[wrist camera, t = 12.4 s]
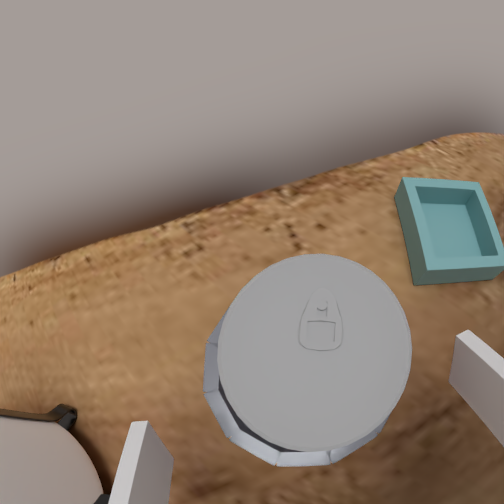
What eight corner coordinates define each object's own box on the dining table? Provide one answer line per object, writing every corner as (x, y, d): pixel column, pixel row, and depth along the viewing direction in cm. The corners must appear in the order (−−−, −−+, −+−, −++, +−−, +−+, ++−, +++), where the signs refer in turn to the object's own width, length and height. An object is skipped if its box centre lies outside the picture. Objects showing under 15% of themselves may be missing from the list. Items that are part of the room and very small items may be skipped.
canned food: (342, 311, 22) (381, 236, 12) (365, 413, 18) (433, 418, 9) (241, 331, 22) (204, 270, 13) (258, 436, 19) (231, 468, 9)
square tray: (467, 200, 26) (478, 182, 23) (492, 279, 22) (508, 265, 19) (394, 197, 27) (402, 177, 24) (413, 285, 23) (427, 270, 20)
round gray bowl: (381, 287, 23) (391, 271, 21) (389, 449, 17) (403, 455, 14) (219, 291, 25) (211, 276, 22) (211, 454, 19) (199, 461, 16)
